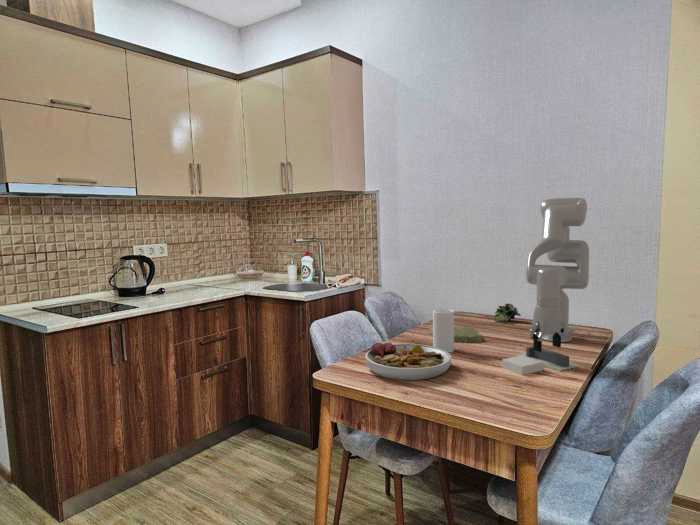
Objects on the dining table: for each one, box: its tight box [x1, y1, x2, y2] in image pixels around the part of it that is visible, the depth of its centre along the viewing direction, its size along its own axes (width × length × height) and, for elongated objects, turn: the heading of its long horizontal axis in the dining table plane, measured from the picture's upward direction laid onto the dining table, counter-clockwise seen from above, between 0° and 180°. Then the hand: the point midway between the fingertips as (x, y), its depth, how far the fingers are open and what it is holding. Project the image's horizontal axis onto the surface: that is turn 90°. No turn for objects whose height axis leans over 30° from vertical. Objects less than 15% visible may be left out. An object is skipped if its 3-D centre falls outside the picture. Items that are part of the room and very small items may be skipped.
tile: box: [501, 355, 544, 376], centre depth 159 cm, size 3×9×10 cm
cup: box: [432, 308, 455, 354], centre depth 183 cm, size 8×8×16 cm
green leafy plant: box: [492, 302, 521, 324], centre depth 231 cm, size 11×11×12 cm
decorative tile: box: [429, 326, 483, 343], centre depth 203 cm, size 19×20×4 cm
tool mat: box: [514, 352, 579, 372], centre depth 167 cm, size 9×20×1 cm, turn 26°
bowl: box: [365, 341, 452, 381], centre depth 162 cm, size 30×30×8 cm
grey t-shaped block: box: [525, 346, 570, 367], centre depth 165 cm, size 15×6×4 cm, turn 26°
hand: (547, 348), depth 166 cm, fingers open, 9 cm apart
